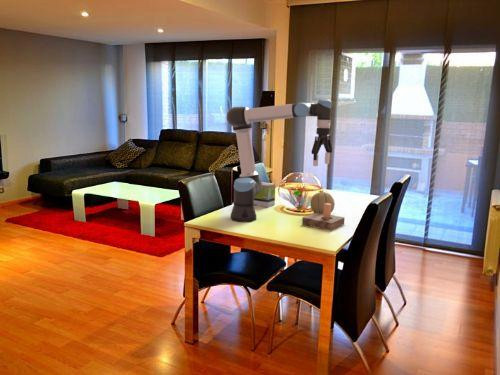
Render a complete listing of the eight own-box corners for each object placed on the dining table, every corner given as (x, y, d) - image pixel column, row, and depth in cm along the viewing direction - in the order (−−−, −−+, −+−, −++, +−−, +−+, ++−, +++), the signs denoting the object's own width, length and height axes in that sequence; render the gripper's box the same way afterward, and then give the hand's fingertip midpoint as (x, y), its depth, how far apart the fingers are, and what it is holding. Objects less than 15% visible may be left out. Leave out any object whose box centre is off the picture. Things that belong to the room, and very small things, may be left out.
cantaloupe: (325, 220, 253) (326, 195, 250) (304, 215, 263) (306, 191, 260) (338, 215, 264) (340, 191, 261) (318, 211, 274) (319, 188, 271)
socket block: (302, 224, 243) (302, 217, 243) (316, 218, 256) (316, 212, 255) (331, 230, 233) (331, 223, 232) (344, 224, 245) (344, 217, 244)
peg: (321, 225, 243) (322, 204, 240) (324, 223, 246) (326, 203, 244) (327, 226, 240) (329, 205, 238) (331, 224, 243) (332, 204, 241)
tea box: (275, 205, 288) (275, 183, 286) (267, 207, 280) (268, 185, 277) (256, 201, 296) (256, 180, 293) (248, 204, 288) (248, 182, 285)
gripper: (318, 128, 231) (316, 167, 235) (339, 127, 251) (337, 163, 255) (306, 127, 236) (304, 166, 240) (327, 126, 255) (325, 162, 259)
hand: (321, 164), depth 247 cm, fingers open, 13 cm apart
